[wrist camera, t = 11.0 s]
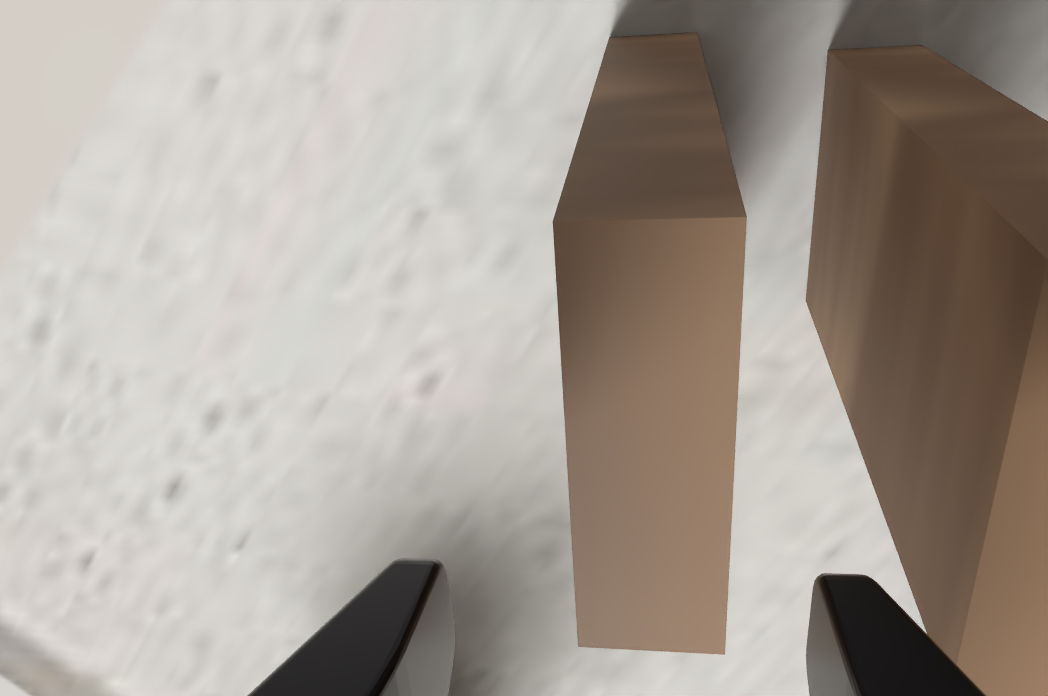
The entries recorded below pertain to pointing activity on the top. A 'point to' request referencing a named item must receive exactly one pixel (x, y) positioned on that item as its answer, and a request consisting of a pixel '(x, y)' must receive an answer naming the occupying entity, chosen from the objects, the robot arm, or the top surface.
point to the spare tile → (651, 350)
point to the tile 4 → (943, 340)
